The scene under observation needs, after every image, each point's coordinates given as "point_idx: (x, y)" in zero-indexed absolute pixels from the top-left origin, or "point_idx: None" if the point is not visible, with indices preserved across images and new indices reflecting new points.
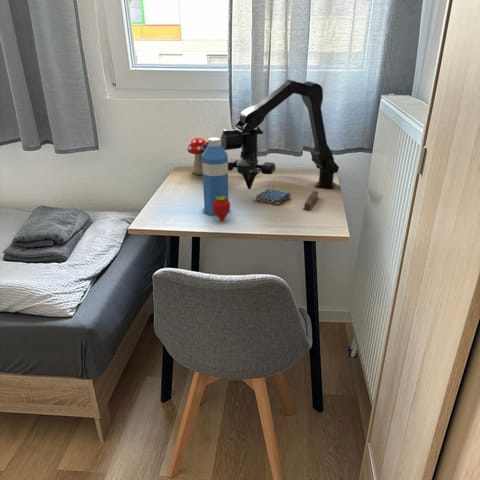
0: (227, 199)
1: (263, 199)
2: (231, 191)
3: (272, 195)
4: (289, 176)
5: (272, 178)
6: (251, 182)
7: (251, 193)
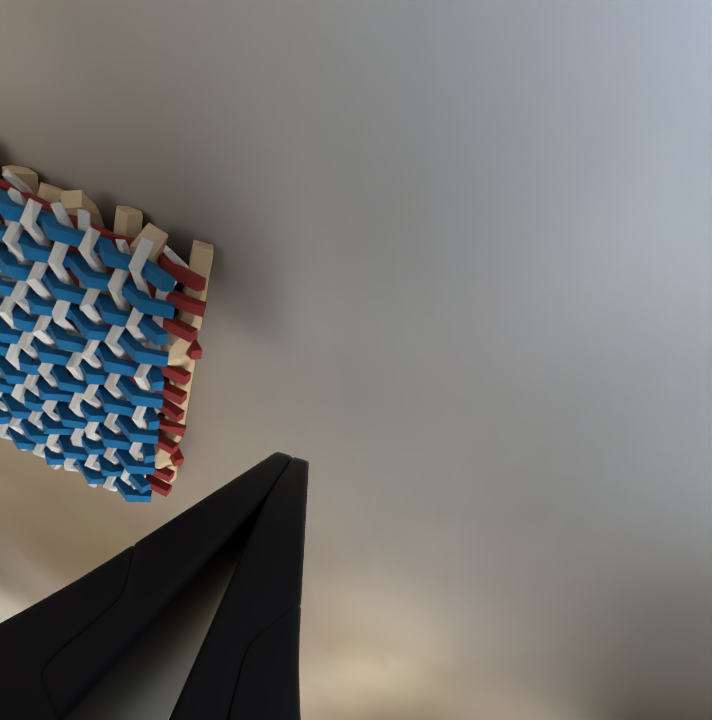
0: None
1: (87, 223)
2: (551, 550)
3: (3, 315)
4: None
5: None
6: (159, 534)
7: (321, 482)
